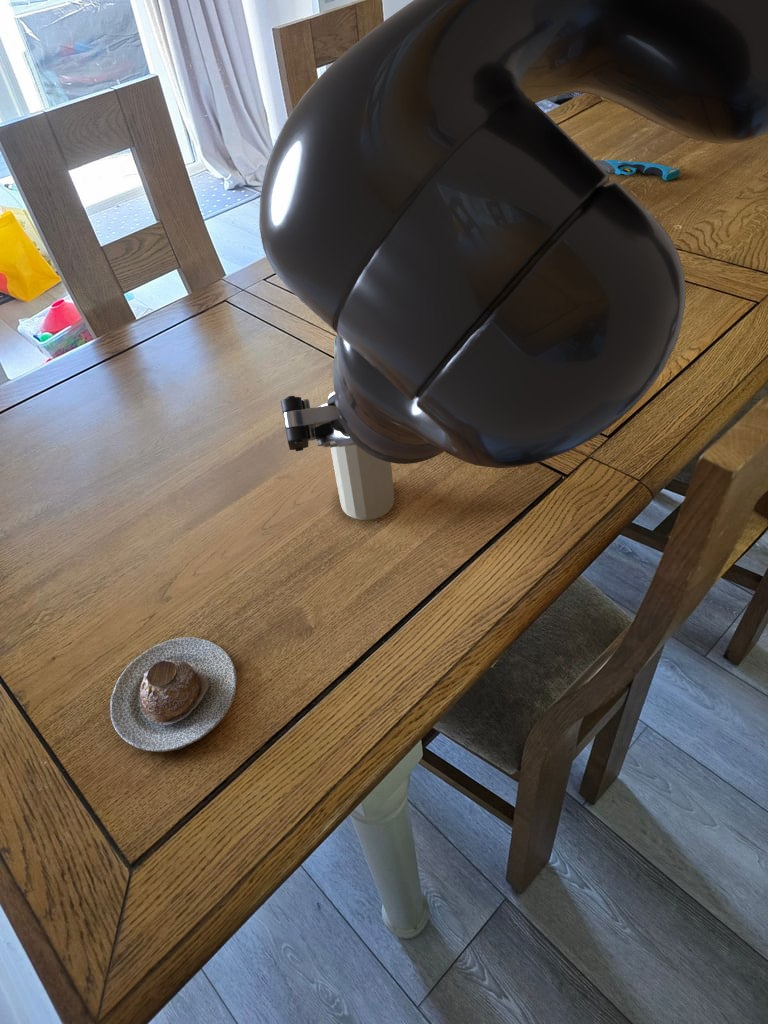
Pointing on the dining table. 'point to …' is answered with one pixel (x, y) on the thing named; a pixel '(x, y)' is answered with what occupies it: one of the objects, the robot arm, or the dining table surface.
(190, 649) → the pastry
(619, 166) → the knife
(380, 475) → the white faceted vase
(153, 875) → the dining table surface
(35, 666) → the dining table surface
